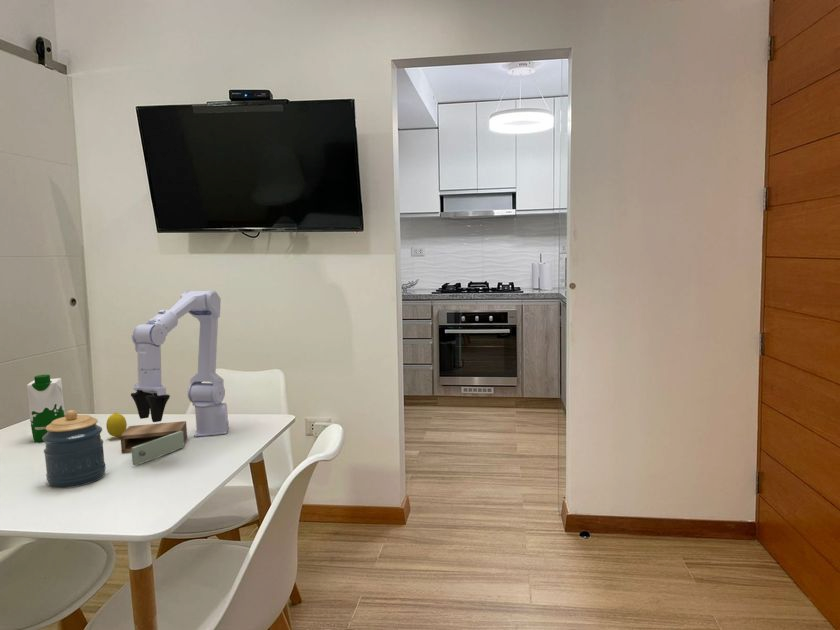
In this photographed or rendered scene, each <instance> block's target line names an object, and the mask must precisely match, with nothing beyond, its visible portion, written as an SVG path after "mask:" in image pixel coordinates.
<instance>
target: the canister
mask: <svg viewBox="0 0 840 630" xmlns="http://www.w3.org/2000/svg"><path fill="white" fill-rule="evenodd" d="M97 423H99V421H98V419H97V418H96V417H94V416H93V417H92V415H89V414H78V412H77V411H76V410H75V409H69V410H67V411H65V417H62V418H58V419H56V420H54V421H52V422H51V423H50V424H49V425H47V426H46V428H45V429H46V430H47V431H48V432H47V433H46V434H45V435H44V436H43V437H42V439H43V441H45V442H44V443H45V448H44V450H43V453H44V460H45V469H46V474H45V477H46V481H47V484H48V486H49V487H51V488H58V489H59V488H61V489H62V488H63V489H66V488H74V487H79V486H84V485H88V484H91V483H93V482H96V481H98V480H100V479H102V478H103V477H104V476H105V475H106V468H107V467H106V463H105V454H104V440H103V438H102V436H101V433H102V432H103V428H102V427H101V426H100V425H97Z"/></svg>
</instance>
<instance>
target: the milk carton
mask: <svg viewBox="0 0 840 630" xmlns="http://www.w3.org/2000/svg"><path fill="white" fill-rule="evenodd" d="M62 382H63V381H62V378H61V377H59V378H51V375H50V374H39V375H35V376H34V379H33V381H30V382H29V383H28V384H26V391H27V400H28V411H29V419H30V428H31V434H32V439H33V443H35V444H36V443H45V441H43V439H42V437H43V436H44V435H45V434H46V433H47V432H48V431H47V430H46V429H45V428H46V426H47V425H49V424H50V423H51V422H52V421H54V420H56V419H58V418H62V417H65V414H66V411H65V410H66V409H65V401H64V393H63V391H64V389H63V383H62Z"/></svg>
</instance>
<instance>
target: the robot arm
mask: <svg viewBox="0 0 840 630" xmlns="http://www.w3.org/2000/svg"><path fill="white" fill-rule="evenodd" d="M157 312H158V313H157V314H156V315H154V317H152V318H149V319H148V320H147V322H146V323H144V324H143V323H142V324H139V325H137V326H136V327H135V328H134V329H133V331H132V335H131V340H132V343H133V344H134V348H135V349H134V350H135V352H136V353H137V383H134V386H133V390H134V391H135V392H131V393H130V396H131V398H132V399H133V401H134V403H135V406H136V409H137V413H138V416H139V419H148V418H151V421H152V423H160V422H162V420H163V416H164V412H165V407H166V405H167V403H168V401H169V399H170V397H171V395H170V394H167V387H166V386H164V385H163V384H162V347H161V346H162V345H163V344H164V343H165V341H166V337H167V336H168V335H169V333H170V332H171V331H173V329H175V328H176V327H177V326H178V324H179V319H181V318H182V317H184V316H185V315H187V314H189V315H191V316H192V317H193V318H196V319H197V320H198V321H199V337H198V357H197V358H198V359H197V373H196V374H194V375H193V376H192V377H191V378H190V381H189V386H188V389H187V398H188V400H189V401H190V403H192V406H193V407H194V410H195V411H194V412H195V424H196V425H195V426H196V429H195V432H194V434H193V436H194V437H197V438H198V437H208V436H215V435H216V436H217V435H225V434H228V431H229V426H230V423H229V422H230V421H229V417H228V416H229V415H228V414H229V413H228V405H227V403H226V402H223V400H224V398H225V396H226V389H225V386H224V378H222V377H221V376H220V375H219V374H218V373H216V372H217V371H216V369H217V368H216V367H217V353H218V352H217V351H218V349H217V347H218V346H217V345H218V330H219V329H218V328H219V318H220V317H221V297H220V295H219V293H218V292H217V291H216V290H214V289H213V290H212V289H211V290H186V291H184V292H183V293H181V294H180V298H179V300H178V301H176V303H174V305H173V306H172V307H171V308H169V309H160V310H158V311H157ZM150 416H151V417H150Z"/></svg>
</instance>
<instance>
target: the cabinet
mask: <svg viewBox="0 0 840 630" xmlns="http://www.w3.org/2000/svg"><path fill="white" fill-rule="evenodd" d="M187 429H188V428H187V421H186V420H183V421H172V422H161V423H160V422H158V423H151V424H150V423H149V424H140V425H139V424H137V425H129V426H127V428H126V430H125V431H124V432H123V433H122V435H121V436H120V437H119V439H120V445H121V446H120V449H121V450H120V451H121V454H128V453H132V450H131V448H132V447H135V446H138V445H141V444H144V443H147V442H149V441H152V440H155V439H158V438H161V437H164V436H167V435H170V434H173V433H175V432H178V431H183V438H184V444H185V443H186V440H187V438H188V430H187Z"/></svg>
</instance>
